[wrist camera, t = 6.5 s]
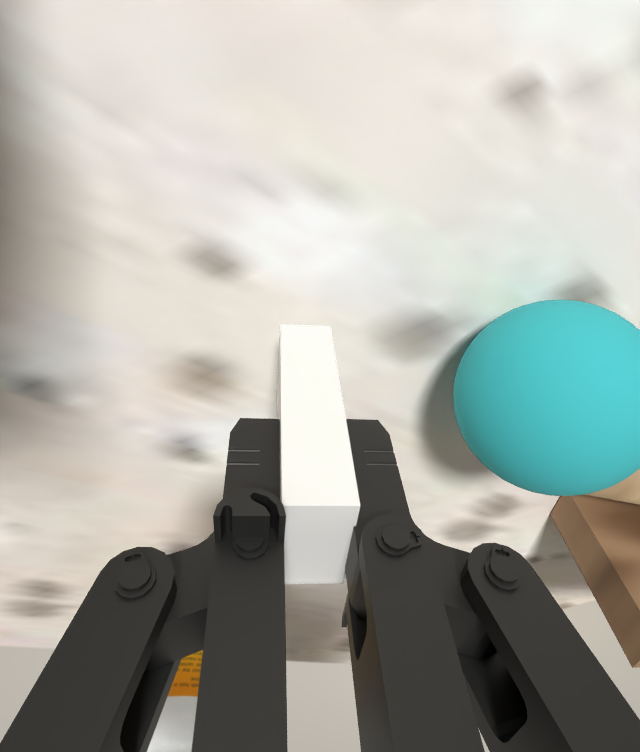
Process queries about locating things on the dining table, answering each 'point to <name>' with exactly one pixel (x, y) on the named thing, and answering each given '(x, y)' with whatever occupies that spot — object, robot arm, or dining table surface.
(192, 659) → the supplement bottle
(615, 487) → the beech pin
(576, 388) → the ball
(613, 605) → the walnut backstop
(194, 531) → the dining table surface
